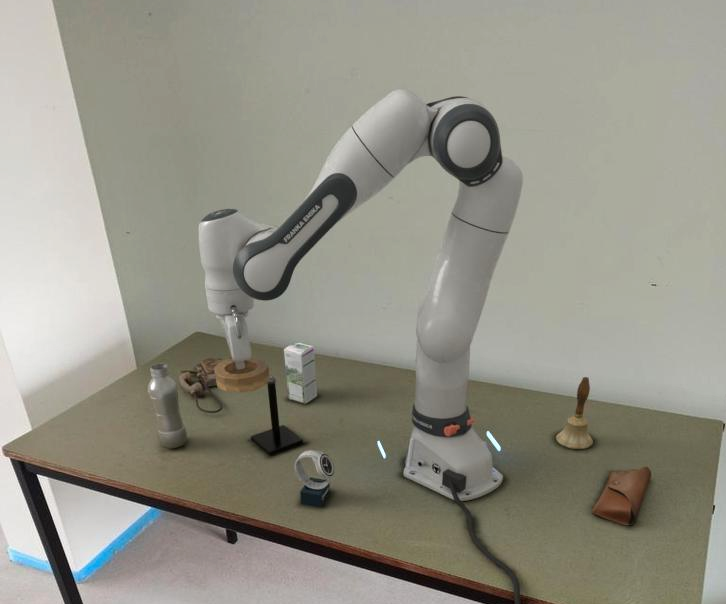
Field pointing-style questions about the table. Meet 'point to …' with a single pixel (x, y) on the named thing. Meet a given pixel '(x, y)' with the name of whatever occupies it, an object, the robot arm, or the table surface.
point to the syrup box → (300, 372)
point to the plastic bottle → (166, 407)
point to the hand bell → (577, 422)
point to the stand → (275, 428)
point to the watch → (314, 487)
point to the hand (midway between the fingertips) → (239, 364)
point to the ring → (242, 375)
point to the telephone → (207, 377)
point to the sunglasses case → (623, 496)
